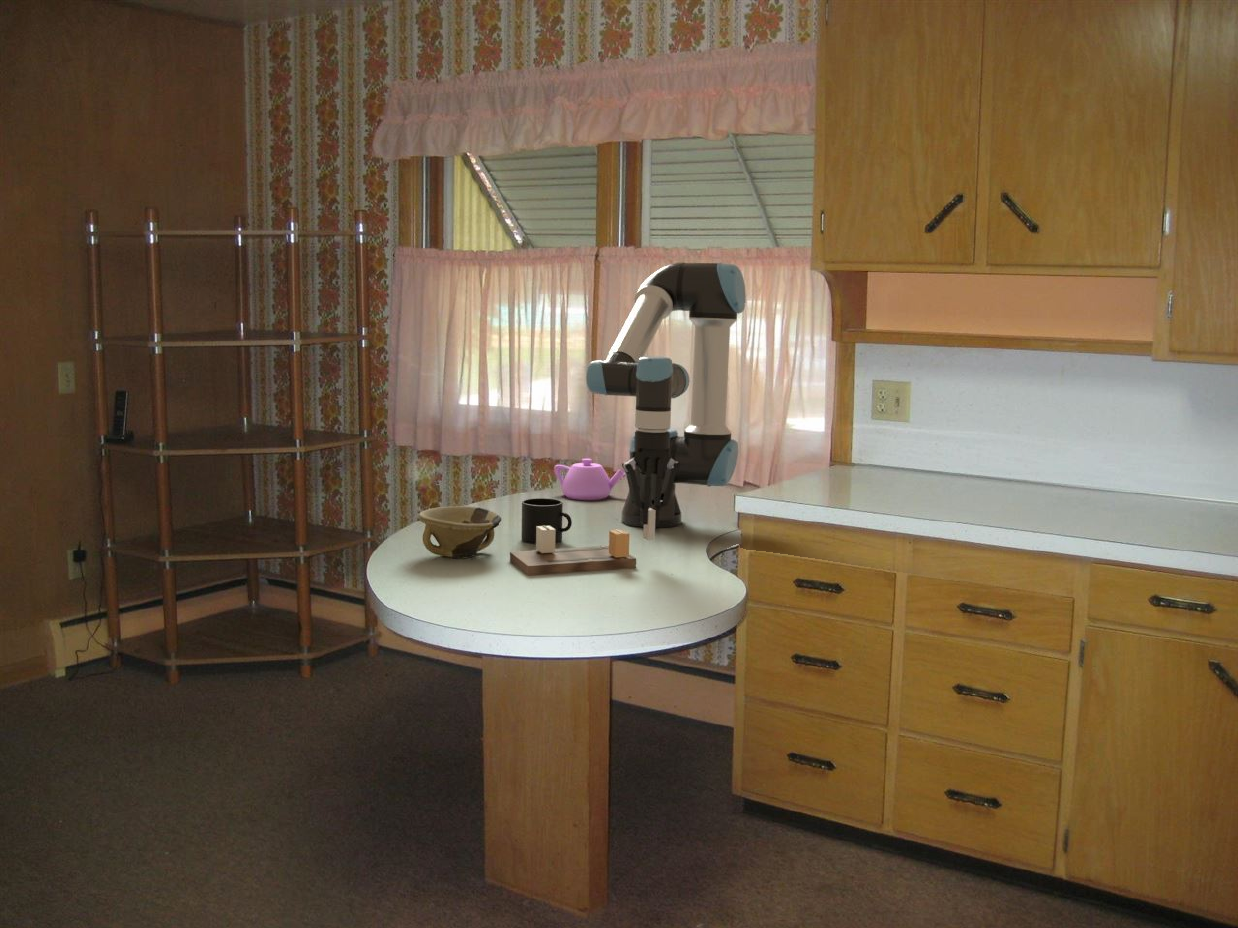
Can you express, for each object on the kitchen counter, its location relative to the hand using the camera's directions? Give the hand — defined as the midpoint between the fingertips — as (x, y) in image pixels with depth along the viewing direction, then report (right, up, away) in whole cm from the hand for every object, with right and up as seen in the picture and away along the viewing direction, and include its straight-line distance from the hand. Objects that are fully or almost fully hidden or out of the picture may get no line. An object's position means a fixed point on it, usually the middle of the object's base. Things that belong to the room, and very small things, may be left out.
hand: (648, 538), depth 259 cm
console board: (-16, -5, -1) cm, 17 cm away
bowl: (-41, -4, +4) cm, 42 cm away
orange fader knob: (-6, -3, -2) cm, 7 cm away
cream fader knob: (-22, -3, 0) cm, 22 cm away
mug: (-23, -2, +21) cm, 31 cm away
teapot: (-15, +7, +78) cm, 79 cm away
